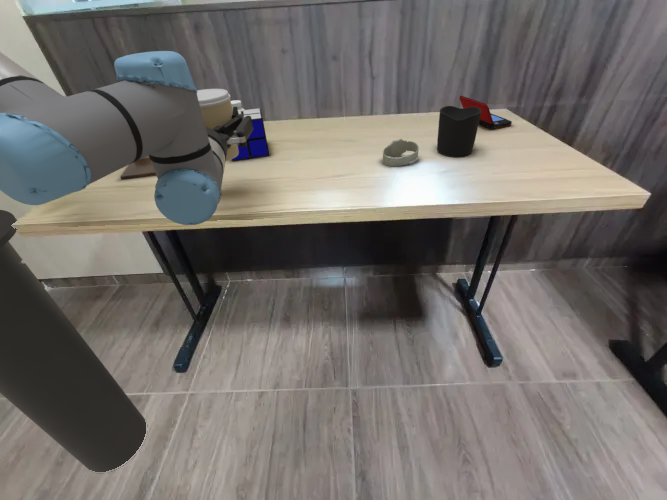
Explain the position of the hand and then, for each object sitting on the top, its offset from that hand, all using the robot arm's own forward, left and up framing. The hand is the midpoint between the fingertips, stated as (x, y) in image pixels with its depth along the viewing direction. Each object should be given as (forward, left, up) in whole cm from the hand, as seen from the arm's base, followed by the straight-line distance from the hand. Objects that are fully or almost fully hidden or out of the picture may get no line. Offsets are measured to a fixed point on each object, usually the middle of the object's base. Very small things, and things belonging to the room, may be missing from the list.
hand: (214, 115), depth 73 cm
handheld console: (+73, +19, -16) cm, 77 cm away
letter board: (-17, +20, -16) cm, 30 cm away
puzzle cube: (+4, +19, -16) cm, 25 cm away
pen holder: (+56, +2, -16) cm, 58 cm away
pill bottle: (+1, +35, -16) cm, 38 cm away
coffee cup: (0, -5, -7) cm, 9 cm away
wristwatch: (+41, 0, -16) cm, 44 cm away
